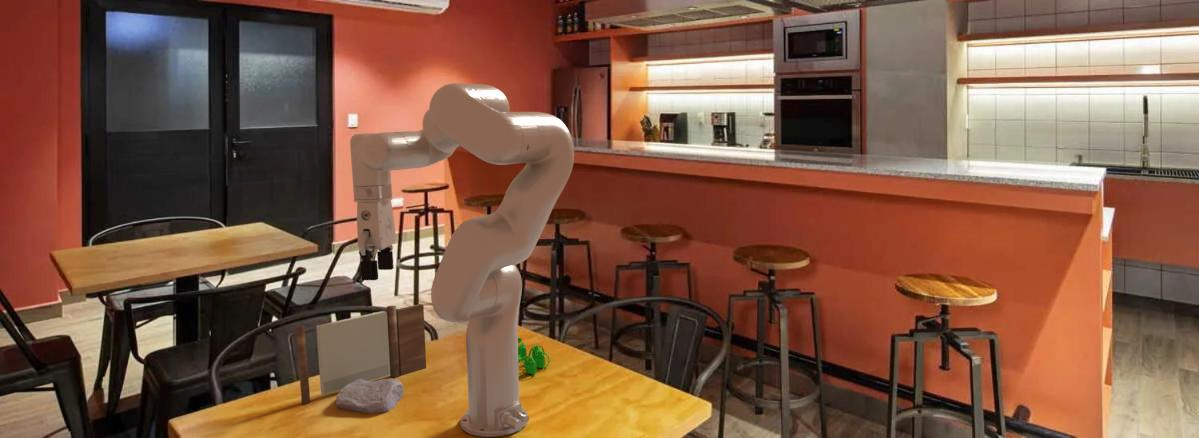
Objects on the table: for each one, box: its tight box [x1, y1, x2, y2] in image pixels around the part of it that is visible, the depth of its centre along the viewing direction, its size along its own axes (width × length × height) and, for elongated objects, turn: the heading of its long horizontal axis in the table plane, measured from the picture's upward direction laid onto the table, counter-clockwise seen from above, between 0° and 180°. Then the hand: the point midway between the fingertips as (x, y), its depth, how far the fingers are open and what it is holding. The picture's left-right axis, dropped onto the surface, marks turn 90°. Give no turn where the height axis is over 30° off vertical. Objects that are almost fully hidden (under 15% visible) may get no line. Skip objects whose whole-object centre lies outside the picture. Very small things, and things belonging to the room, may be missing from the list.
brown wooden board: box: [295, 303, 427, 405], centre depth 148 cm, size 2×28×16 cm, turn 135°
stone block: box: [335, 377, 404, 414], centre depth 139 cm, size 12×5×10 cm
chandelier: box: [518, 337, 551, 376], centre depth 158 cm, size 15×15×7 cm
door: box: [315, 310, 390, 395], centre depth 146 cm, size 15×1×14 cm, turn 135°
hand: (378, 274), depth 144 cm, fingers open, 9 cm apart
